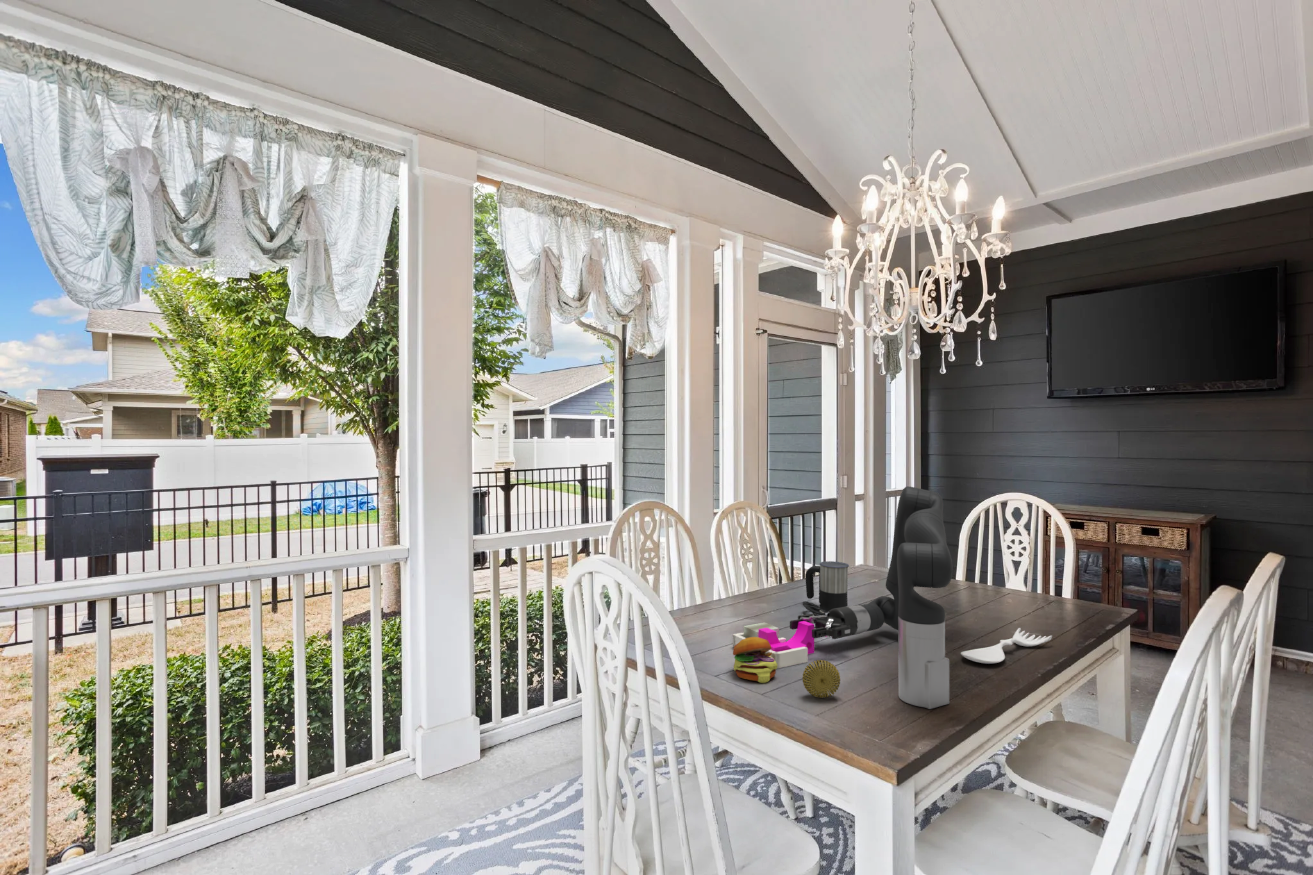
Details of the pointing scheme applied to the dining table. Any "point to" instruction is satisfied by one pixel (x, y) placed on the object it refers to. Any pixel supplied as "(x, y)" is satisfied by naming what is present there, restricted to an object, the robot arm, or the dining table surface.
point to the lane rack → (782, 653)
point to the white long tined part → (996, 652)
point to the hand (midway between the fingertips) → (801, 629)
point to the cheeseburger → (754, 660)
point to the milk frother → (828, 586)
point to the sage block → (754, 629)
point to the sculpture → (821, 678)
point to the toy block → (798, 640)
